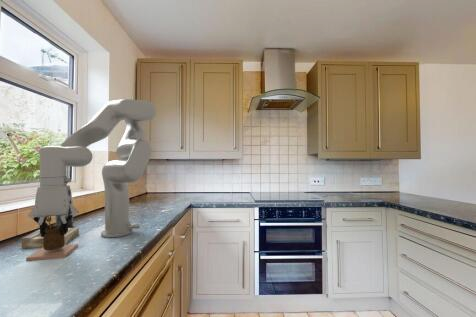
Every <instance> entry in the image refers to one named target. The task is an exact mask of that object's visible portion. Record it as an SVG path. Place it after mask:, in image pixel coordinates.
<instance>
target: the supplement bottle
mask: <svg viewBox="0 0 476 317" xmlns="http://www.w3.org/2000/svg"><path fill="white" fill-rule="evenodd" d="M70 214H72V212H70V213H68V216H69V215H70ZM59 216H60V215H59ZM59 216H55V226H61V224H62V220H61V219H60V218H61V217H59ZM56 219H57V220H56ZM57 222H58V223H57ZM59 224H60V225H59ZM73 226H74V217H73V218H72V219H71V220H70V221H69V222H68V228H74V227H73Z"/></svg>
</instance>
